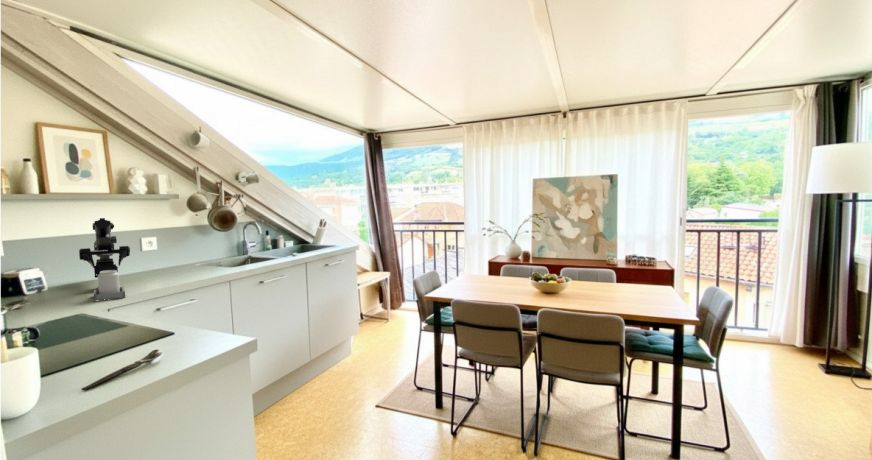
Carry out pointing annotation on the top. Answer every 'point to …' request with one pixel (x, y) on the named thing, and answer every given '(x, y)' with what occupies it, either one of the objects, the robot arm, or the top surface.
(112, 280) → the can
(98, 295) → the tray
